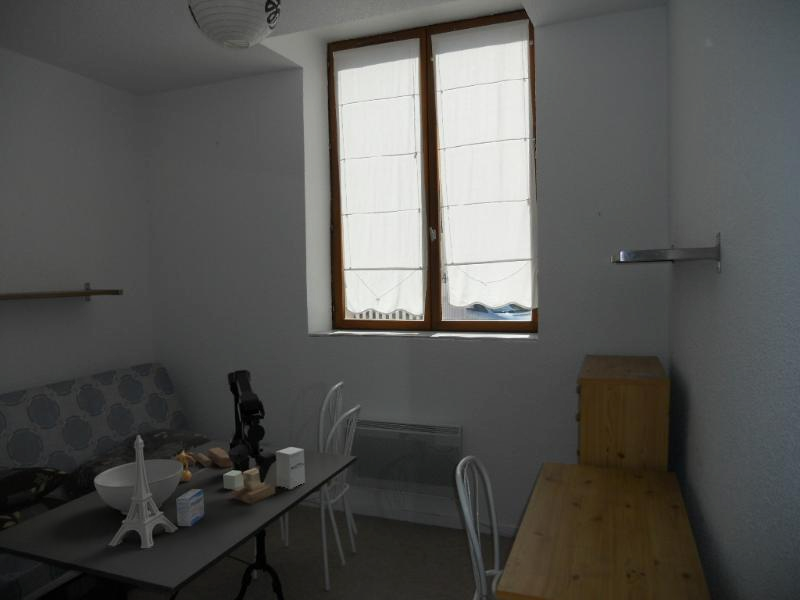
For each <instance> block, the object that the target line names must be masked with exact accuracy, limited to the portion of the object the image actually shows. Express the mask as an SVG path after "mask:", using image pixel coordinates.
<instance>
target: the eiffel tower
mask: <svg viewBox="0 0 800 600" xmlns="http://www.w3.org/2000/svg"><path fill="white" fill-rule="evenodd" d="M144 447H145V444H144V440H143V439H142V437H141V435H139V434H138V435H136V439H135V441H134V446H133V448H134V450H135V462H136V474H135V487H134V496H133V497H132V498H131V500H133V501H132V504H131V507H130V510H129V513H128V515H126V517H125V519H123V520H122V521H121V523H122V524H121V526H120V527H119V529H118V531H117V532H116V533H115V535H114V537H113V538H112V540H111V541H110V542H109V544H108V545H113V546H112V547H115V545H118V544H119V545H121V544H122V543H123V542H124V541H123V538H124V536H125V535H126V533H127V532H129V531H133V530H134V531H136V532H137V533H138V534H139V535H140V539H141V546H140V548H149V547H151V546H153V544H155V543H154V540H153V529H154V527H155V526H156V525H161V526H162V527H163V528H164V532H165V533H174V532H176V531H178V530H179V527H177V526H176V525H174V524H173V523H172V521H170V520H169V519H168V518H167V517H166V516H165V515H164V511H160V510H159V509H158V508H157V507H156V505H155V503H154V501H153V500H152V497H151V496H152V493H150V491H149V487H148V482H147V477H146V472H145V465H144V461H145V458H144ZM146 503H147V504H146ZM147 506H148V508H149V510H150V511H148V510H147ZM136 512H137V513H136ZM175 530H176V531H175ZM121 542H122V543H121ZM120 543H121V544H120ZM119 545H118V546H119ZM153 547H154V546H153ZM151 548H152V547H151Z"/></svg>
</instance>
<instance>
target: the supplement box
mask: <svg viewBox="0 0 800 600" xmlns="http://www.w3.org/2000/svg"><path fill="white" fill-rule="evenodd" d="M275 454H276V461H275V468H276V471H275V473H276V486H277V487H279V486H281V487H280V488H282V487H285V488H284V489H286V488H288V489H287V490H290V489H291V490H292V489H294V487H295V488H297V487H299V486H298V485H300V484H302V485H304V484H303V483H305V484H306V475H305V473H306V471H305V450H304V448H299V447H293V446H289V447H286V448H284V449H283V448H282V449H280V450H277V451H275ZM296 486H297V487H296ZM300 486H301V485H300Z"/></svg>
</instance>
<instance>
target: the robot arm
mask: <svg viewBox="0 0 800 600" xmlns="http://www.w3.org/2000/svg"><path fill="white" fill-rule="evenodd" d="M251 377H252V376H251V371H249V369H246V368H245V369H238V370H235V371H233V372H231V371H230V372H229V373H227V374H226V377H225V378H226V385H227V386H228V387H227V388H228V389H229V390H230V393H232V406H233V410H232V411H233V431H232V432H231V434H230V437H229V440H230V441H229V442H228V446H227V448H228V449H227V454H228V455H229V458H230V460H231V461H232V468H231V469H229V470H228V472H230V471H232V470H235V471H241V473H242V475H243V472H245V471H248V470H251V469H253V468H252V467H250V460H251V459H254V461H255V463H256V464H255V468H257V469H259V476H260V482H261V483H263V482H264V481H265V480H266V478H267V475H268V472H269V470H270V468H271V466H272V465H273V464H274V463H276V453H275V452H271V451H265V452H264V448H261V441H263V440H264V437H265V435H266V431H265V428H264V427H263V425H262V424H261V421H260V420H265V415H266V411H265V407H264V403H263V401H262V400H260V398H259V395H258V394H257V393H255V392H253V389H252V388H253V387H252V385H251V382H252V378H251Z"/></svg>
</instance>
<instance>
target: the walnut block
mask: <svg viewBox="0 0 800 600" xmlns="http://www.w3.org/2000/svg"><path fill="white" fill-rule="evenodd" d="M273 494H275V495H276V485H273V484H271V483H267V482H265V486H264V487H262V488H259V489H257V490H254V491H251V490H248V489H245V488H244V485H242V486H240V487H237V488H234V489H232V499H235V500H238V501H241V502H245V503H248V504H251V505H252V504H255V503H257V501H258V502H260V501H263V500H264V498H265V499H267V498H269V496H270V497H272V496H274V495H273ZM271 495H272V496H271ZM266 497H267V498H266ZM259 500H260V501H259Z"/></svg>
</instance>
